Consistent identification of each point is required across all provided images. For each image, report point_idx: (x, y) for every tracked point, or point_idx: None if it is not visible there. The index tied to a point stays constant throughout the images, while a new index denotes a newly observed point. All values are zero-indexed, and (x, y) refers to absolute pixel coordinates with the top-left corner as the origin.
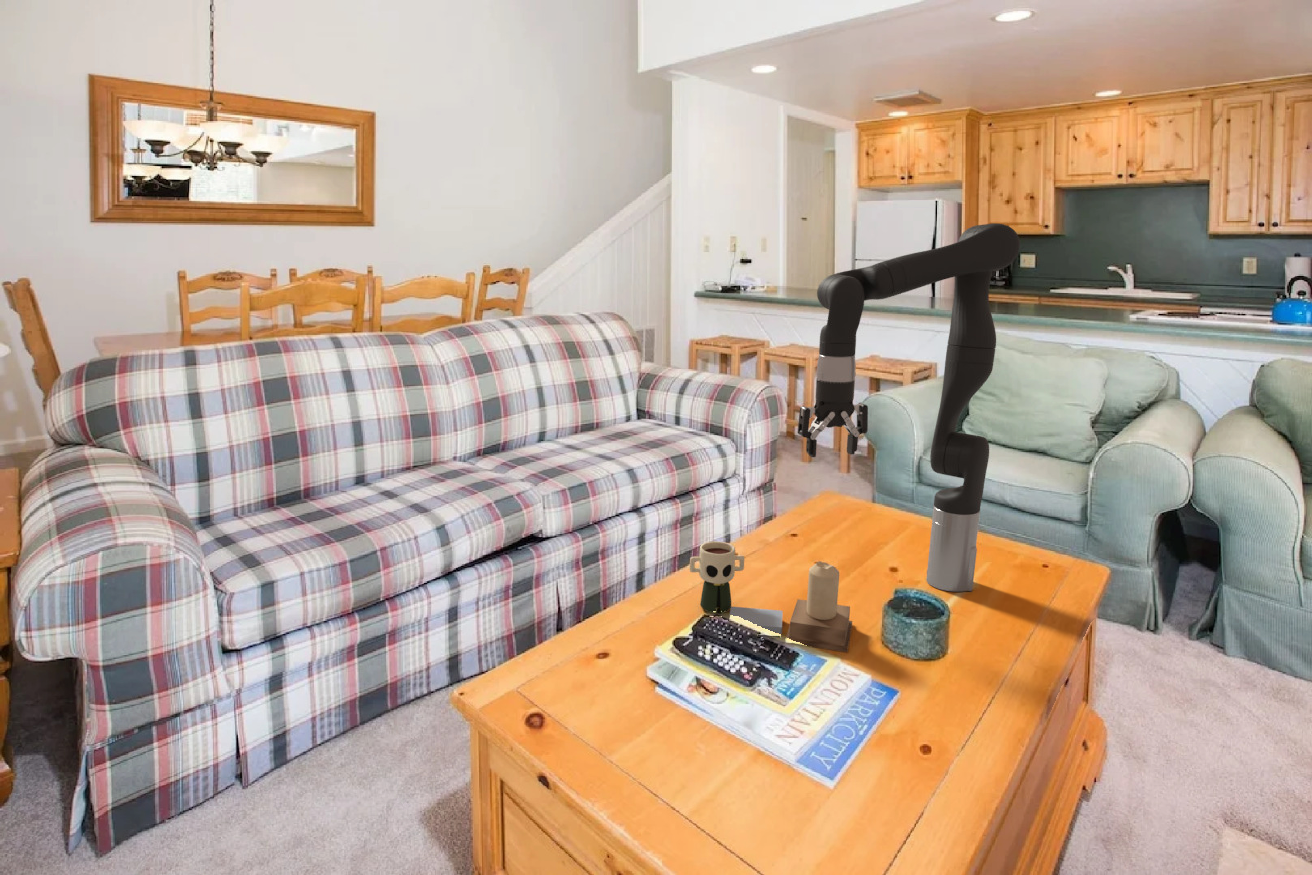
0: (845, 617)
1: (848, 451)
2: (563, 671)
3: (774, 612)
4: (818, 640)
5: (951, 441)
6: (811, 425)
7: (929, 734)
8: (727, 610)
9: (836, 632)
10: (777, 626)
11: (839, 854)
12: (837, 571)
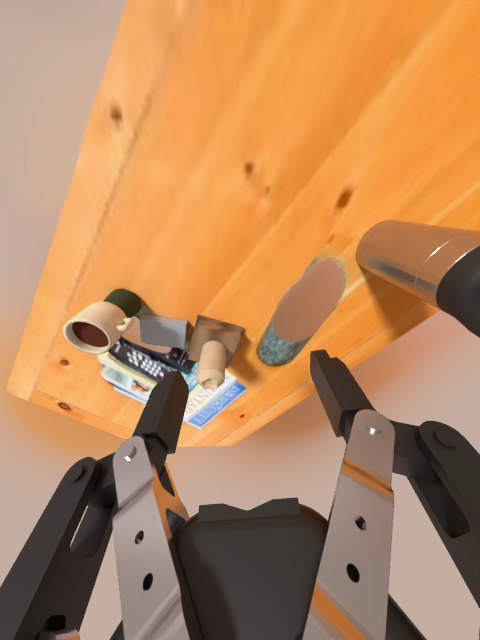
0: (232, 353)
1: (312, 362)
2: (50, 376)
3: (178, 328)
4: None
5: None
6: (119, 512)
7: (247, 410)
8: (138, 311)
9: None
10: (180, 347)
11: (198, 444)
12: (221, 383)
